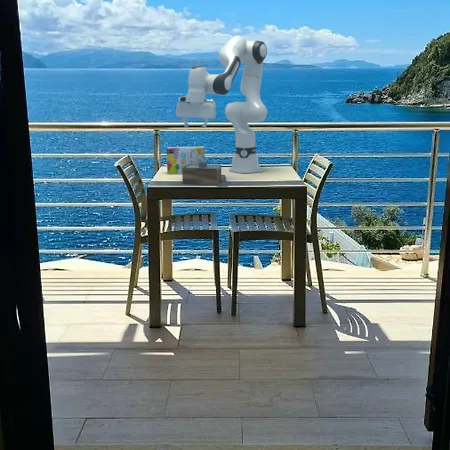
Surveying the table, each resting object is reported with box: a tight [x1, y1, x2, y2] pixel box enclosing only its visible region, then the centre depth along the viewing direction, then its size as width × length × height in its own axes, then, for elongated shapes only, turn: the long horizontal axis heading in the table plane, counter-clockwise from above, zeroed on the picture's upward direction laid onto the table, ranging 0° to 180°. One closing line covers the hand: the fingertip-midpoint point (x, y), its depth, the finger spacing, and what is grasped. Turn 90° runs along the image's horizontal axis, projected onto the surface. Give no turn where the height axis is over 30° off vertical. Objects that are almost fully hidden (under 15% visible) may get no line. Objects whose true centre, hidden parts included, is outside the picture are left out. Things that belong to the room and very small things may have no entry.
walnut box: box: [181, 164, 222, 186], centre depth 303 cm, size 12×18×8 cm, turn 79°
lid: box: [186, 161, 222, 170], centre depth 302 cm, size 10×17×4 cm, turn 79°
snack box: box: [166, 145, 206, 175], centre depth 328 cm, size 21×6×15 cm, turn 92°
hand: (195, 127), depth 293 cm, fingers open, 8 cm apart
